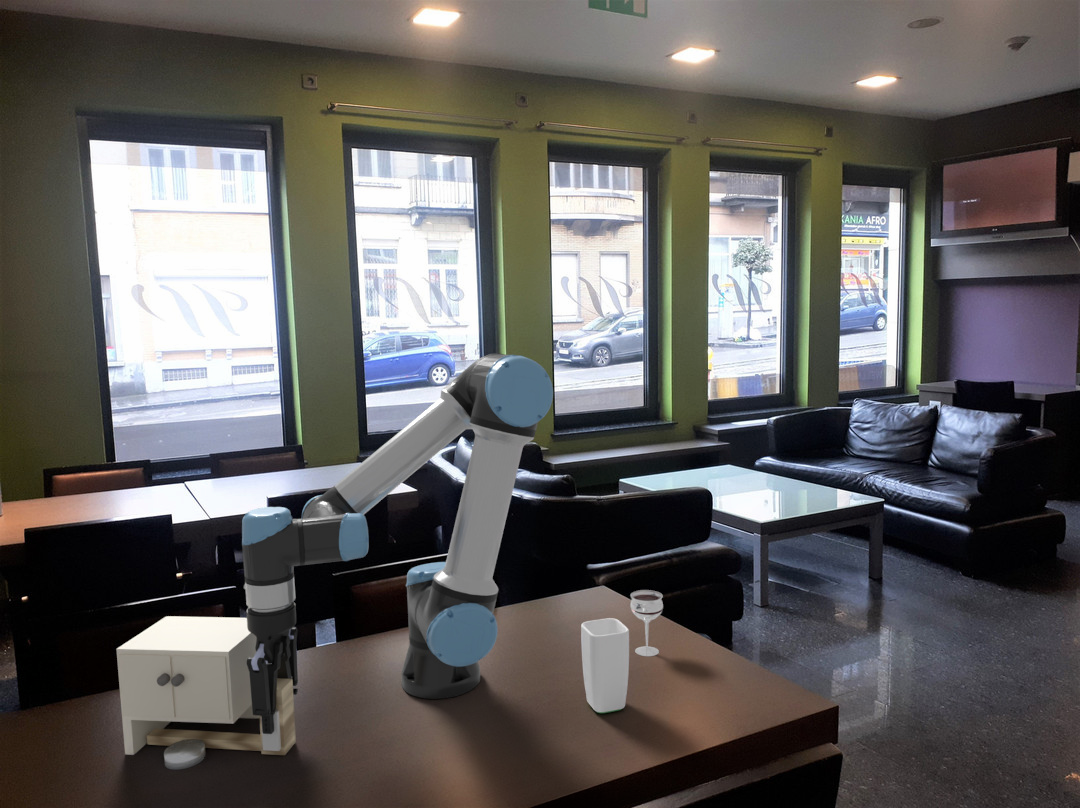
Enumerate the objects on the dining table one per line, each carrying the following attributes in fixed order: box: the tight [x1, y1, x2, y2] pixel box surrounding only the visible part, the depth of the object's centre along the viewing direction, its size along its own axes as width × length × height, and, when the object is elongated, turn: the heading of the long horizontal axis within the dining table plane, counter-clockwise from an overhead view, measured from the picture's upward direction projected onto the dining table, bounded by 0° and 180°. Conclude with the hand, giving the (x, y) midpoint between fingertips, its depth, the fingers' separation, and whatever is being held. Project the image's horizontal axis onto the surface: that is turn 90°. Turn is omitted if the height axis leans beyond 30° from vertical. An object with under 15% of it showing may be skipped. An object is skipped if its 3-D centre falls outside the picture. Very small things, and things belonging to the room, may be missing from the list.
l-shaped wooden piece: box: [146, 678, 296, 756], centre depth 130 cm, size 24×4×11 cm, turn 83°
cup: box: [580, 617, 630, 714], centre depth 140 cm, size 7×7×15 cm
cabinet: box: [115, 615, 269, 756], centre depth 133 cm, size 19×16×18 cm
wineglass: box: [629, 589, 664, 657], centre depth 163 cm, size 7×7×12 cm
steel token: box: [163, 739, 206, 771], centre depth 127 cm, size 6×6×2 cm
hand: (278, 741), depth 129 cm, fingers closed on l-shaped wooden piece, 4 cm apart
